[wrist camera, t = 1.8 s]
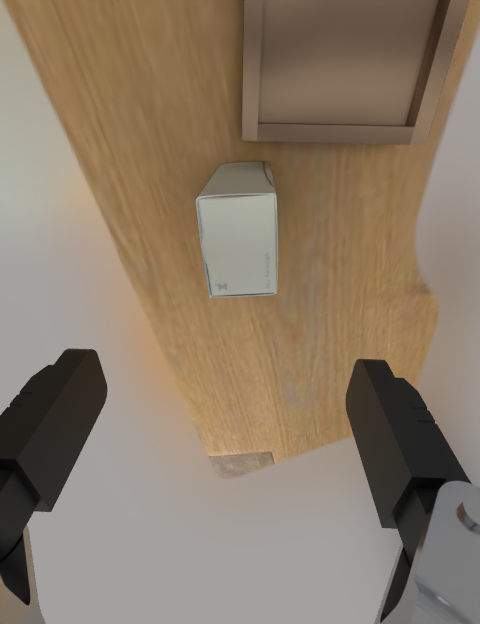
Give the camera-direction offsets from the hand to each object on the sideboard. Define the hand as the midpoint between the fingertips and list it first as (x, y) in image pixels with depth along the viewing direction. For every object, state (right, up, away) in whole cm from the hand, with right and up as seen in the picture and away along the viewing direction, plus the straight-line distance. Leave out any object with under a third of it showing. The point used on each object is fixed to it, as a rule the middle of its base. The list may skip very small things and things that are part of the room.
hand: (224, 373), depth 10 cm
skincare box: (+1, +12, +18) cm, 22 cm away
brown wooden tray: (+7, +21, +12) cm, 25 cm away
